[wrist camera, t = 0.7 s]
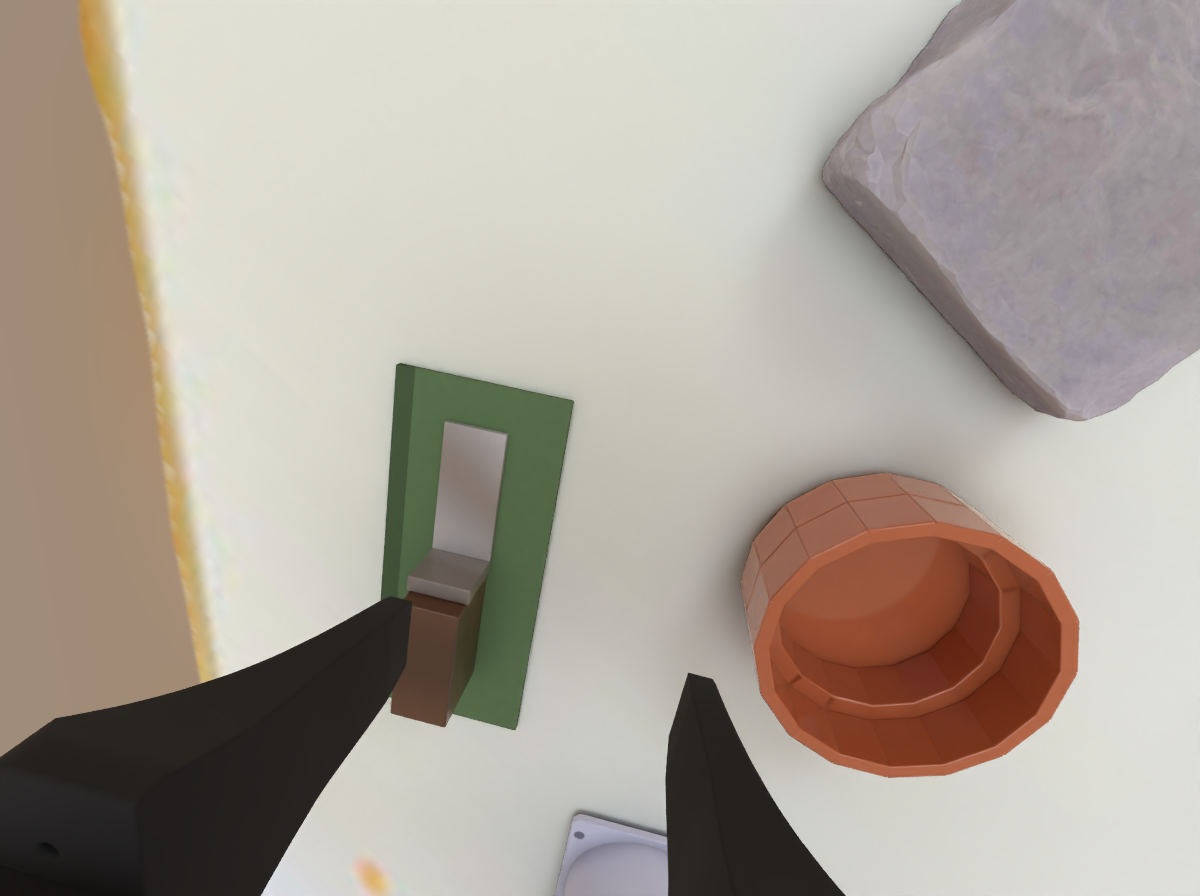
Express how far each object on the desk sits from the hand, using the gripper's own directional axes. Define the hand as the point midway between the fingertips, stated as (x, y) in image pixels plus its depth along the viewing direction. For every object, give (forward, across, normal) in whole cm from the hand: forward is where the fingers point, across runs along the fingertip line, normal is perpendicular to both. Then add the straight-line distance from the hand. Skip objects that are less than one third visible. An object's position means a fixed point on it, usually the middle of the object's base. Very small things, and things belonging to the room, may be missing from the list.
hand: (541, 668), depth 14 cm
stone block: (+10, -12, -15) cm, 21 cm away
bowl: (+10, -11, 0) cm, 15 cm away
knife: (+9, +5, +3) cm, 11 cm away
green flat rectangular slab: (+10, +5, +4) cm, 12 cm away
